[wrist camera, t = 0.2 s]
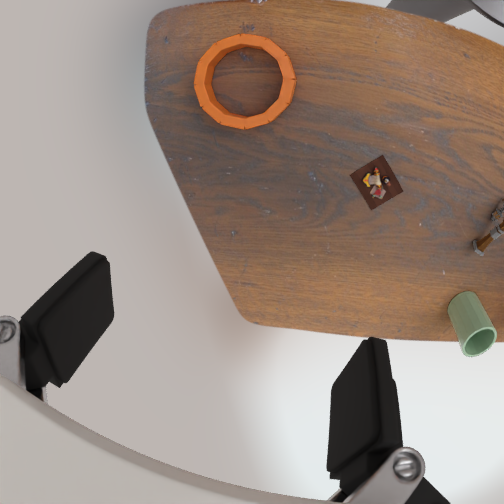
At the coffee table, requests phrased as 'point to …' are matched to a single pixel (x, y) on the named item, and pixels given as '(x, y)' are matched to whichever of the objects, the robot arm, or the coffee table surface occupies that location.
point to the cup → (471, 324)
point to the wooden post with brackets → (494, 233)
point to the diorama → (376, 182)
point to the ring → (207, 70)
